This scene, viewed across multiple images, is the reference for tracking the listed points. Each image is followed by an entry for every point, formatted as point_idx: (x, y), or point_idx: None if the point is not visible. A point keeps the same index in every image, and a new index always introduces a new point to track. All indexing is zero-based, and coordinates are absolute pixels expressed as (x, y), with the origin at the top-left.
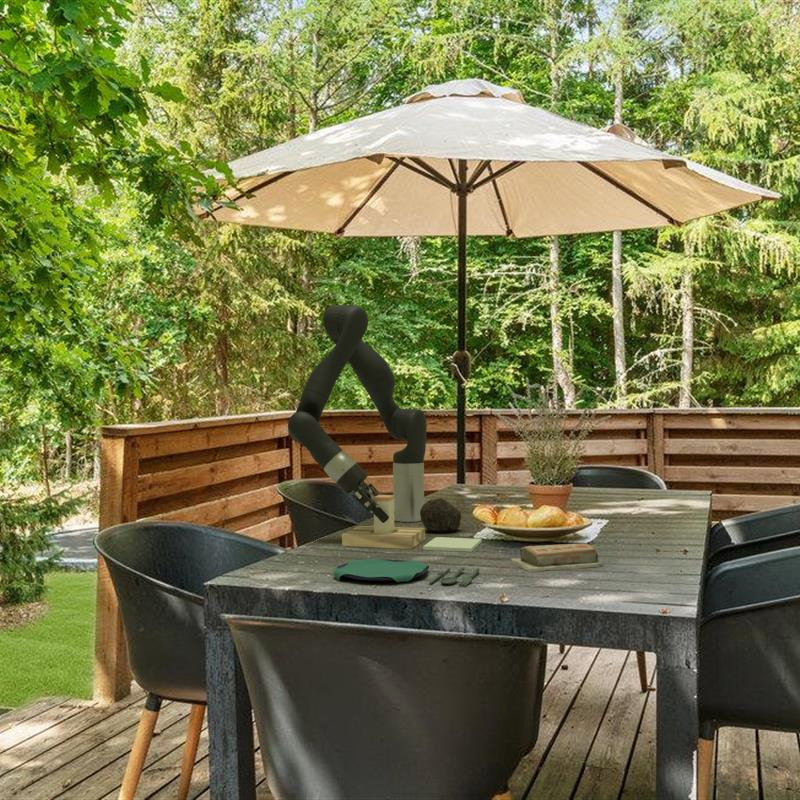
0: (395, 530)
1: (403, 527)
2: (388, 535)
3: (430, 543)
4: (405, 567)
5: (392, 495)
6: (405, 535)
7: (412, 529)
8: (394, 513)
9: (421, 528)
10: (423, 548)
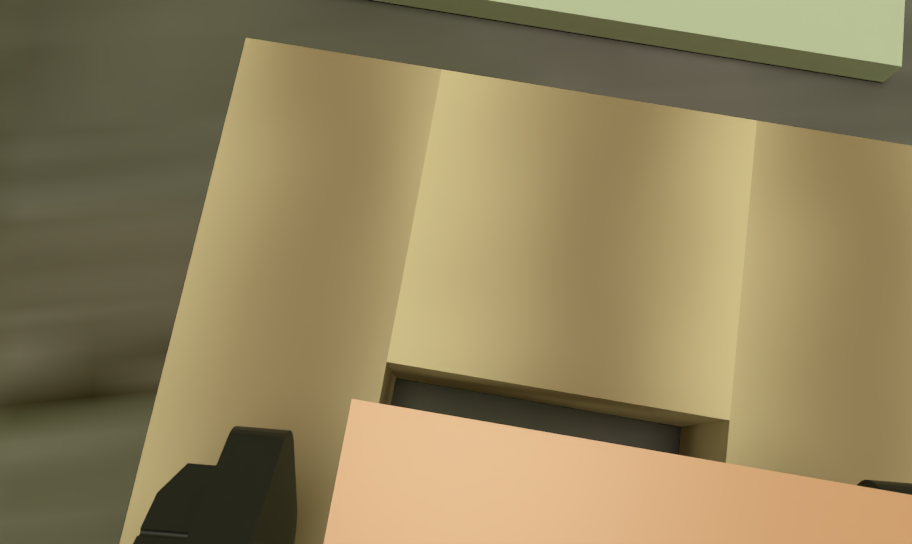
0: None
1: (178, 324)
2: (909, 464)
3: (717, 3)
4: None
5: (416, 456)
6: (863, 233)
7: (356, 185)
8: (290, 432)
9: (265, 77)
10: (887, 73)
